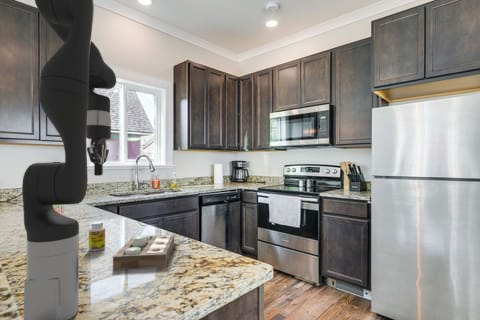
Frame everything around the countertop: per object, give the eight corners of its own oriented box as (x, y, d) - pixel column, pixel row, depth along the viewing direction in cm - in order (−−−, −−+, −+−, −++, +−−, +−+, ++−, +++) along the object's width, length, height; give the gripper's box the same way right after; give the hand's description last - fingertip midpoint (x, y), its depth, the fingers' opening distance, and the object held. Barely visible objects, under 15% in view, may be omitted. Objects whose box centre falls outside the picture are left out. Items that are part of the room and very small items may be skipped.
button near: (138, 263, 84) (138, 251, 84) (123, 264, 83) (123, 252, 84) (142, 258, 89) (142, 246, 89) (127, 259, 88) (128, 247, 88)
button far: (148, 248, 99) (148, 238, 99) (136, 249, 98) (136, 238, 98) (151, 245, 103) (151, 234, 104) (139, 245, 103) (139, 235, 103)
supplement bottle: (89, 252, 97) (89, 225, 97) (88, 248, 102) (88, 222, 102) (106, 249, 100) (106, 223, 100) (104, 246, 105) (104, 220, 105)
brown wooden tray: (165, 266, 83) (165, 253, 84) (112, 269, 81) (112, 255, 81) (174, 244, 106) (174, 233, 106) (133, 246, 104) (133, 235, 104)
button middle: (144, 250, 92) (144, 239, 92) (130, 251, 91) (130, 239, 91) (147, 246, 96) (147, 235, 96) (134, 247, 96) (134, 236, 96)
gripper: (102, 122, 84) (102, 176, 84) (116, 128, 98) (116, 174, 97) (77, 122, 83) (77, 176, 83) (95, 127, 97) (95, 174, 96)
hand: (98, 175), depth 90 cm, fingers closed
